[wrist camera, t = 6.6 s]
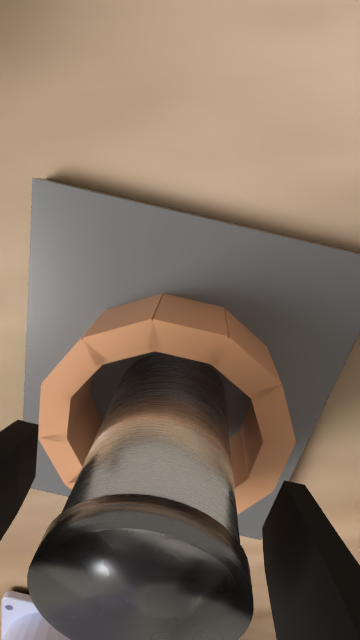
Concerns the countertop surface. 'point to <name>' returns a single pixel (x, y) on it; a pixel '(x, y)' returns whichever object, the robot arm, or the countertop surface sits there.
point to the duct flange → (181, 328)
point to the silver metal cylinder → (150, 519)
